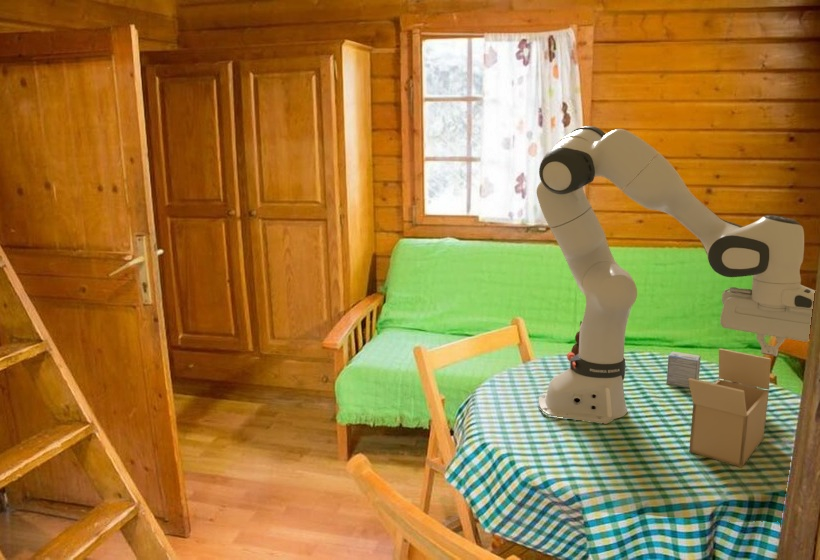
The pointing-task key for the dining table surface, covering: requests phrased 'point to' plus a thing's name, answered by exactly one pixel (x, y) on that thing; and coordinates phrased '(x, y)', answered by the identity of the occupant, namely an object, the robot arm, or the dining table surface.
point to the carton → (730, 428)
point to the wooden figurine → (576, 347)
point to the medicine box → (682, 368)
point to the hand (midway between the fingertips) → (769, 354)
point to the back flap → (744, 368)
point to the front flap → (718, 397)
